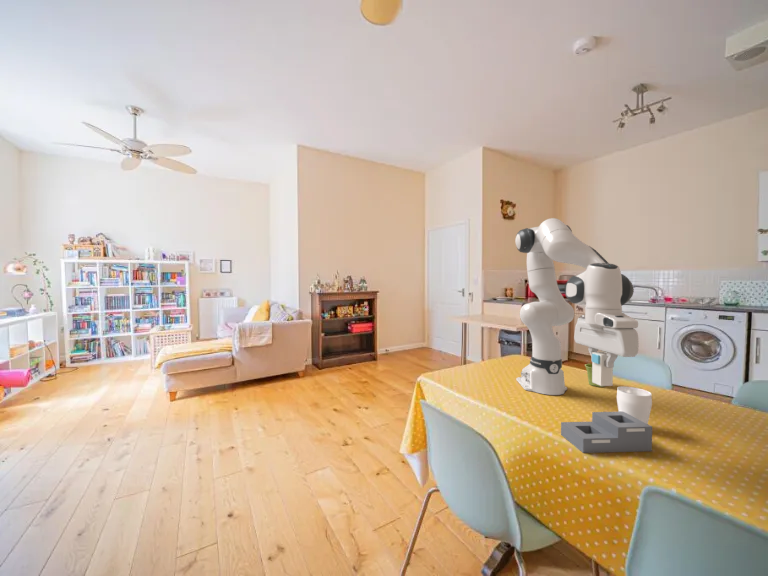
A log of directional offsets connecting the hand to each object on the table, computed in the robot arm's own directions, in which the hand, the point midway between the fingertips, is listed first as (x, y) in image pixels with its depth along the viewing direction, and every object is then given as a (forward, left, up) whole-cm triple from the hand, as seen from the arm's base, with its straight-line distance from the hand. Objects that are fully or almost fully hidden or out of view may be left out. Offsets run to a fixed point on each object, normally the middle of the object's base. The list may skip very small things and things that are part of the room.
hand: (602, 365), depth 91 cm
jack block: (0, +1, -23) cm, 23 cm away
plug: (0, 0, -6) cm, 6 cm away
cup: (-9, +18, -24) cm, 31 cm away
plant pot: (-49, +36, -24) cm, 65 cm away
